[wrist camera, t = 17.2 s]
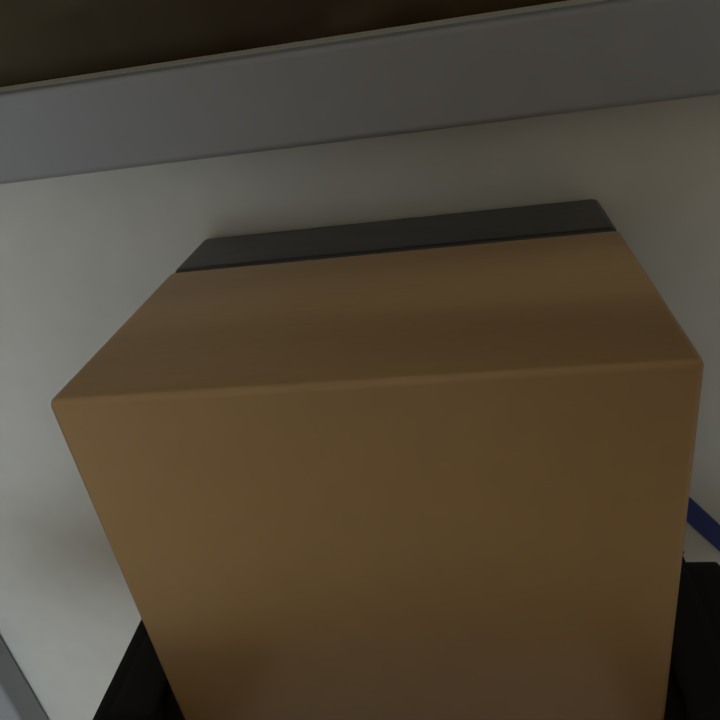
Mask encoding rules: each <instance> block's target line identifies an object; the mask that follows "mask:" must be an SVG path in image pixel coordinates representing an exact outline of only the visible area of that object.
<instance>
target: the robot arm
mask: <svg viewBox="0 0 720 720" xmlns="http://www.w3.org/2000/svg"><path fill="white" fill-rule="evenodd" d="M93 720H185V719H184V717H183V714H182V712H181V710H180V707H179V705H178V703H177V700H176V698H175V696H174V693H173V691H172V689H171V686H170V684H169V681H168V679H167V677H166V674H165V672H164V670H163V667H162V665H161V663H160V660H159V658H158V656H157V653H156V651H155V649H154V646H153V644H152V642H151V639H150V637H149V635H148V632H147V630H146V628H145V625H144V623H143V621H142V619H141V621H140V623H139V625H138V627H137V629H136V631H135V633H134V636H133V638H132V640H131V642H130V644H129V646H128V648H127V650H126V652H125V654H124V656H123V658H122V660H121V662H120V664H119V666H118V668H117V670H116V672H115V675H114V677H113V679H112V681H111V683H110V685H109V687H108V689H107V691H106V693H105V695H104V697H103V699H102V701H101V703H100V705H99V707H98V709H97V711H96V714H95V716H94V718H93ZM664 720H720V565H719V564H718V563H717V562H686V561H685V559H684V556H683V555H682V564H681V573H680V582H679V591H678V600H677V609H676V618H675V627H674V636H673V644H672V653H671V662H670V671H669V680H668V689H667V698H666V707H665V716H664Z"/></svg>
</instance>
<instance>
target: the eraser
mask: <svg viewBox="0 0 720 720" xmlns="http://www.w3.org/2000/svg"><path fill="white" fill-rule="evenodd" d="M703 369H704V363H703V360H702V358H701V357H700V355H699V354H698V352H697V350H696V349H695V347H694V346H693V344H692V343H691V341H690V340H689V338H688V337H687V335H686V334H685V332H684V331H683V329H682V327H681V326H680V324H679V323H678V321H677V320H676V318H675V317H674V315H673V314H672V312H671V311H670V309H669V307H668V306H667V304H666V303H665V301H664V300H663V298H662V297H661V295H660V294H659V292H658V291H657V289H656V288H655V286H654V284H653V283H652V281H651V280H650V278H649V277H648V275H647V274H646V272H645V271H644V269H643V268H642V266H641V265H640V263H639V261H638V260H637V258H636V257H635V255H634V254H633V252H632V251H631V249H630V248H629V246H628V245H627V243H626V242H625V240H624V238H623V237H622V235H621V234H620V232H617V230H616V228H615V226H614V225H613V223H612V222H611V220H610V219H609V217H608V215H607V214H606V212H605V211H604V209H603V208H602V206H601V205H600V203H599V202H598V200H594V199H588V200H579V201H569V202H559V203H550V204H540V205H530V206H521V207H511V208H502V209H492V210H482V211H473V212H463V213H453V214H444V215H434V216H424V217H415V218H405V219H395V220H386V221H376V222H366V223H357V224H347V225H337V226H328V227H318V228H309V229H299V230H289V231H280V232H270V233H260V234H251V235H241V236H231V237H222V238H212V239H206V240H205V241H203V242H202V243H201V244H200V245H199V246H198V247H197V249H196V250H195V251H194V252H193V253H192V254H191V255H190V256H189V257H188V258H187V259H186V260H185V261H184V262H183V263H182V264H181V265H180V266H179V268H178V269H177V270H176V271H175V273H173V274H171V275H170V276H169V277H168V278H167V279H166V280H165V281H164V282H163V283H162V284H161V285H160V286H159V287H158V288H157V290H156V291H155V292H154V293H153V294H152V295H151V296H150V297H149V298H148V299H147V300H146V301H145V302H144V303H143V304H142V305H141V306H140V307H139V308H138V310H137V311H136V312H135V313H134V314H133V315H132V316H131V317H130V318H129V319H128V320H127V321H126V322H125V323H124V324H123V325H122V326H121V327H120V328H119V329H118V331H117V332H116V333H115V334H114V335H113V336H112V337H111V338H110V339H109V340H108V341H107V342H106V343H105V344H104V345H103V346H102V347H101V348H100V349H99V351H98V352H97V353H96V354H95V355H94V356H93V357H92V358H91V359H90V360H89V361H88V362H87V363H86V364H85V365H84V366H83V367H82V368H81V369H80V370H79V372H78V373H77V374H76V375H75V376H74V377H73V378H72V379H71V380H70V381H69V382H68V383H67V384H66V385H65V386H64V387H63V388H62V389H61V390H60V392H59V393H58V394H57V395H56V396H55V397H54V398H53V399H52V401H51V408H52V410H53V412H54V415H55V417H56V419H57V422H58V424H59V426H60V429H61V431H62V433H63V436H64V438H65V440H66V443H67V445H68V447H69V450H70V452H71V454H72V457H73V459H74V461H75V464H76V466H77V468H78V471H79V473H80V476H81V478H82V480H83V483H84V485H85V487H86V490H87V492H88V494H89V497H90V499H91V501H92V504H93V506H94V508H95V511H96V513H97V515H98V518H99V520H100V522H101V525H102V527H103V529H104V532H105V534H106V536H107V539H108V541H109V543H110V546H111V548H112V550H113V553H114V555H115V557H116V560H117V562H118V564H119V567H120V569H121V571H122V574H123V576H124V578H125V581H126V583H127V586H128V588H129V590H130V593H131V595H132V597H133V600H134V602H135V604H136V607H137V609H138V611H139V614H140V616H141V618H142V621H143V623H144V625H145V628H146V630H147V632H148V635H149V637H150V639H151V642H152V644H153V646H154V649H155V651H156V653H157V656H158V658H159V660H160V663H161V665H162V667H163V670H164V672H165V674H166V677H167V679H168V681H169V684H170V686H171V689H172V691H173V693H174V696H175V698H176V700H177V703H178V705H179V707H180V710H181V712H182V714H183V717H184V719H185V720H664V716H665V707H666V698H667V689H668V680H669V671H670V662H671V653H672V644H673V636H674V627H675V618H676V609H677V600H678V591H679V582H680V573H681V564H682V555H683V547H684V538H685V529H686V520H687V511H688V502H689V493H690V484H691V475H692V467H693V458H694V449H695V440H696V431H697V422H698V413H699V404H700V395H701V387H702V378H703Z"/></svg>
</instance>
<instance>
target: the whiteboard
mask: <svg viewBox="0 0 720 720" xmlns="http://www.w3.org/2000/svg"><path fill="white" fill-rule="evenodd" d="M588 199H594V200H598V202H599V203H600V205H601V206H602V208H603V209H604V211H605V212H606V214H607V215H608V217H609V219H610V220H611V222H612V223H613V225H614V226H615V228H616V230H617V232H620V234H621V235H622V237H623V238H624V240H625V242H626V243H627V245H628V246H629V248H630V249H631V251H632V252H633V254H634V255H635V257H636V258H637V260H638V261H639V263H640V265H641V266H642V268H643V269H644V271H645V272H646V274H647V275H648V277H649V278H650V280H651V281H652V283H653V284H654V286H655V288H656V289H657V291H658V292H659V294H660V295H661V297H662V298H663V300H664V301H665V303H666V304H667V306H668V307H669V309H670V311H671V312H672V314H673V315H674V317H675V318H676V320H677V321H678V323H679V324H680V326H681V327H682V329H683V331H684V332H685V334H686V335H687V337H688V338H689V340H690V341H691V343H692V344H693V346H694V347H695V349H696V350H697V352H698V354H699V355H700V357H701V358H702V360H703V363H704V369H703V378H702V387H701V395H700V404H699V413H698V422H697V431H696V440H695V449H694V458H693V467H692V475H691V484H690V493H689V502H688V511H687V520H686V529H685V538H684V547H683V556H684V559H685V561H686V562H717V563H718V564H719V565H720V0H567V1H560V2H554V3H547V4H541V5H534V6H528V7H521V8H515V9H508V10H502V11H495V12H489V13H482V14H476V15H469V16H462V17H456V18H449V19H443V20H436V21H430V22H423V23H417V24H410V25H404V26H397V27H391V28H384V29H378V30H371V31H364V32H358V33H351V34H345V35H338V36H332V37H325V38H319V39H312V40H306V41H299V42H293V43H286V44H280V45H273V46H266V47H260V48H253V49H247V50H240V51H234V52H227V53H221V54H214V55H208V56H201V57H195V58H188V59H182V60H175V61H168V62H162V63H155V64H149V65H142V66H136V67H129V68H123V69H116V70H110V71H103V72H97V73H90V74H84V75H77V76H70V77H64V78H57V79H51V80H44V81H38V82H31V83H25V84H18V85H12V86H5V87H0V720H93V718H94V716H95V714H96V711H97V709H98V707H99V705H100V703H101V701H102V699H103V697H104V695H105V693H106V691H107V689H108V687H109V685H110V683H111V681H112V679H113V677H114V675H115V672H116V670H117V668H118V666H119V664H120V662H121V660H122V658H123V656H124V654H125V652H126V650H127V648H128V646H129V644H130V642H131V640H132V638H133V636H134V633H135V631H136V629H137V627H138V625H139V623H140V621H141V619H142V618H141V616H140V614H139V611H138V609H137V607H136V604H135V602H134V600H133V597H132V595H131V593H130V590H129V588H128V586H127V583H126V581H125V578H124V576H123V574H122V571H121V569H120V567H119V564H118V562H117V560H116V557H115V555H114V553H113V550H112V548H111V546H110V543H109V541H108V539H107V536H106V534H105V532H104V529H103V527H102V525H101V522H100V520H99V518H98V515H97V513H96V511H95V508H94V506H93V504H92V501H91V499H90V497H89V494H88V492H87V490H86V487H85V485H84V483H83V480H82V478H81V476H80V473H79V471H78V468H77V466H76V464H75V461H74V459H73V457H72V454H71V452H70V450H69V447H68V445H67V443H66V440H65V438H64V436H63V433H62V431H61V429H60V426H59V424H58V422H57V419H56V417H55V415H54V412H53V410H52V408H51V401H52V399H53V398H54V397H55V396H56V395H57V394H58V393H59V392H60V390H61V389H62V388H63V387H64V386H65V385H66V384H67V383H68V382H69V381H70V380H71V379H72V378H73V377H74V376H75V375H76V374H77V373H78V372H79V370H80V369H81V368H82V367H83V366H84V365H85V364H86V363H87V362H88V361H89V360H90V359H91V358H92V357H93V356H94V355H95V354H96V353H97V352H98V351H99V349H100V348H101V347H102V346H103V345H104V344H105V343H106V342H107V341H108V340H109V339H110V338H111V337H112V336H113V335H114V334H115V333H116V332H117V331H118V329H119V328H120V327H121V326H122V325H123V324H124V323H125V322H126V321H127V320H128V319H129V318H130V317H131V316H132V315H133V314H134V313H135V312H136V311H137V310H138V308H139V307H140V306H141V305H142V304H143V303H144V302H145V301H146V300H147V299H148V298H149V297H150V296H151V295H152V294H153V293H154V292H155V291H156V290H157V288H158V287H159V286H160V285H161V284H162V283H163V282H164V281H165V280H166V279H167V278H168V277H169V276H170V275H171V274H173V273H175V271H176V270H177V269H178V268H179V266H180V265H181V264H182V263H183V262H184V261H185V260H186V259H187V258H188V257H189V256H190V255H191V254H192V253H193V252H194V251H195V250H196V249H197V247H198V246H199V245H200V244H201V243H202V242H203V241H205V240H206V239H212V238H222V237H231V236H241V235H251V234H260V233H270V232H280V231H289V230H299V229H309V228H318V227H328V226H337V225H347V224H357V223H366V222H376V221H386V220H395V219H405V218H415V217H424V216H434V215H444V214H453V213H463V212H473V211H482V210H492V209H502V208H511V207H521V206H530V205H540V204H550V203H559V202H569V201H579V200H588Z"/></svg>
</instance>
